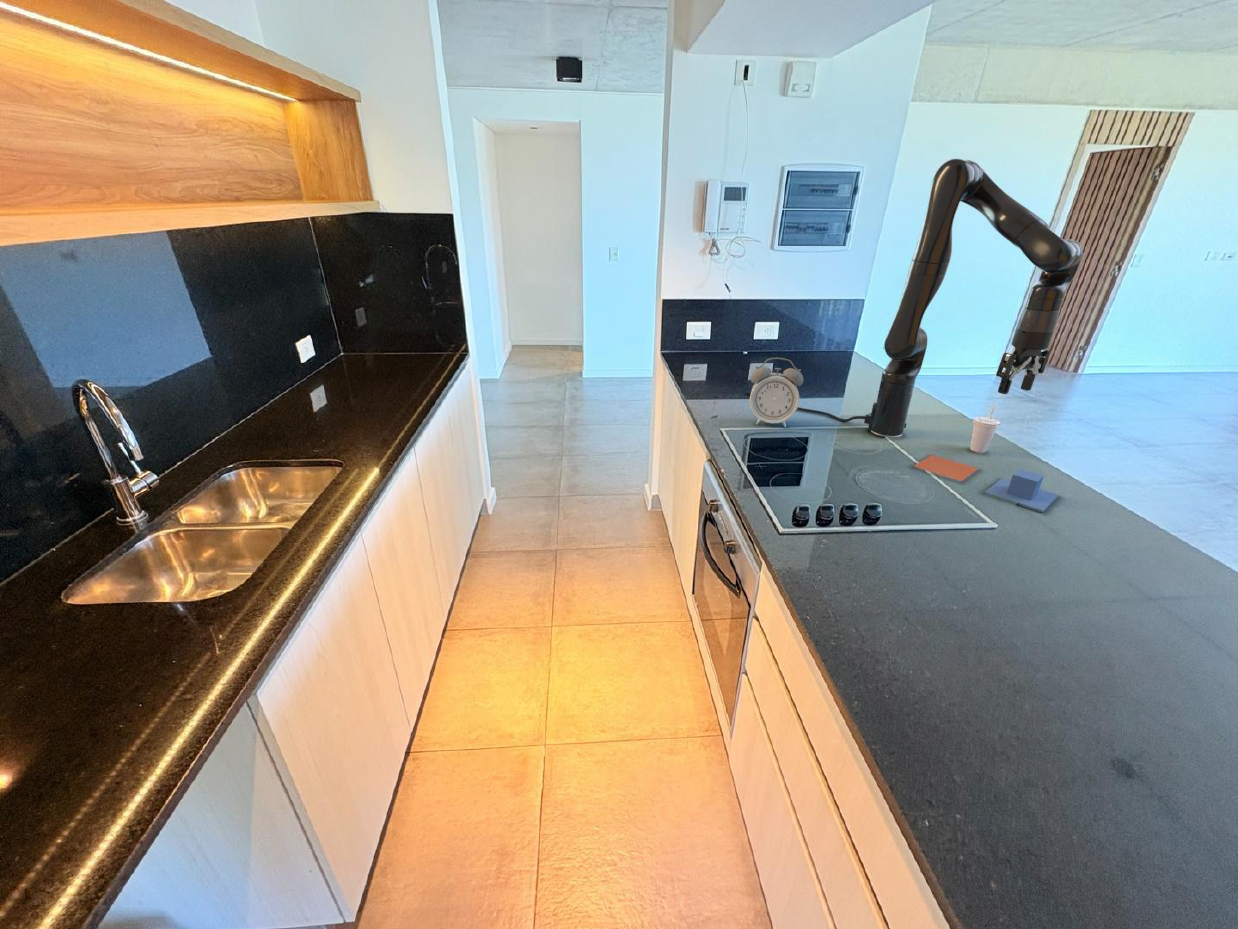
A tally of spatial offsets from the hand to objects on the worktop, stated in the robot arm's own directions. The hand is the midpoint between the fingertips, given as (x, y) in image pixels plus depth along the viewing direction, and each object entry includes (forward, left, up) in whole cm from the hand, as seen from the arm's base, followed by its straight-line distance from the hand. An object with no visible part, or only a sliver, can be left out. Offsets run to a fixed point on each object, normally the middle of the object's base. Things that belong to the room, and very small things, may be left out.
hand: (1013, 391), depth 136 cm
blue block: (+11, -14, -20) cm, 27 cm away
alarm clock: (-59, -18, -21) cm, 65 cm away
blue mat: (+11, -14, -21) cm, 28 cm away
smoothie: (-6, +8, -21) cm, 23 cm away
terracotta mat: (-7, -12, -21) cm, 25 cm away
